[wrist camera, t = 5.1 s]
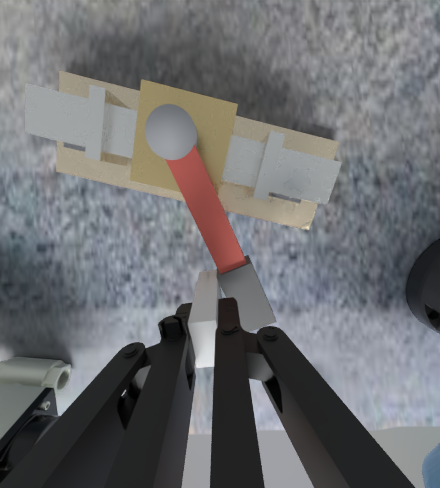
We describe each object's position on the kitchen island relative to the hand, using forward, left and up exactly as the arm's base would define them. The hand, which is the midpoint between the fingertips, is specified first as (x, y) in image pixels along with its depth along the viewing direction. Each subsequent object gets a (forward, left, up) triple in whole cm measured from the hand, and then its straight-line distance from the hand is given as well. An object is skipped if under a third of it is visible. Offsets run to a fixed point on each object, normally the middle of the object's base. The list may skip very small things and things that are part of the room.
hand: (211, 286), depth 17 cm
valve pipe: (+5, -10, -12) cm, 16 cm away
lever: (+1, -5, 0) cm, 5 cm away
